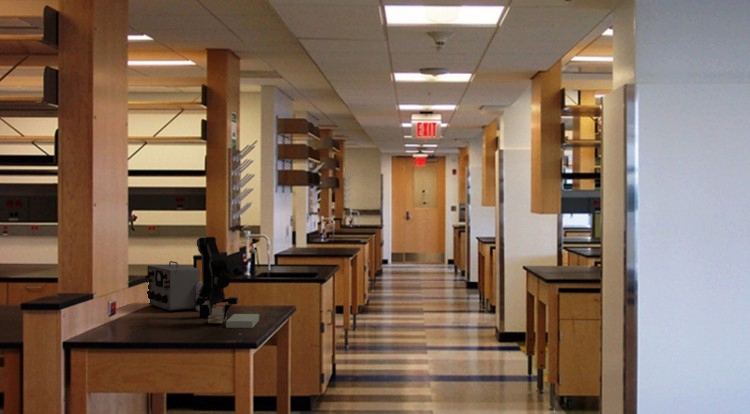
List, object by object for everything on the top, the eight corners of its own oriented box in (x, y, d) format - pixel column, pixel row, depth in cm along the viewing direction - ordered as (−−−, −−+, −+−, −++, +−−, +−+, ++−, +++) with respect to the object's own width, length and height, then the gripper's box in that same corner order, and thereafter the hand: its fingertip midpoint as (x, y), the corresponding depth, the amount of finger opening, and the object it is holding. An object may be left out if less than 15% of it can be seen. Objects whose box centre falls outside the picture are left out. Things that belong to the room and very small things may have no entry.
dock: (225, 327, 339) (226, 321, 339) (234, 320, 361) (234, 313, 361) (252, 327, 340) (252, 321, 340) (259, 320, 362) (259, 314, 362)
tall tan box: (208, 323, 345) (208, 316, 345) (212, 319, 356) (212, 312, 356) (222, 323, 345) (222, 316, 345) (226, 319, 356) (226, 313, 356)
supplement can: (214, 310, 393) (215, 281, 393) (205, 312, 386) (205, 283, 385) (202, 309, 396) (202, 281, 396) (192, 311, 389) (192, 282, 389)
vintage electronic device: (143, 306, 406) (143, 260, 406) (175, 303, 417) (175, 259, 417) (166, 313, 381) (166, 264, 380) (199, 310, 392) (199, 263, 391)
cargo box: (211, 315, 348) (211, 307, 348) (213, 313, 352) (213, 306, 352) (221, 315, 348) (221, 308, 348) (223, 314, 353) (223, 306, 352)
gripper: (193, 287, 342) (193, 321, 342) (234, 287, 342) (234, 321, 342) (199, 284, 353) (198, 317, 353) (238, 285, 353) (238, 318, 354)
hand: (217, 318), depth 350 cm, fingers closed on tall tan box, 6 cm apart
